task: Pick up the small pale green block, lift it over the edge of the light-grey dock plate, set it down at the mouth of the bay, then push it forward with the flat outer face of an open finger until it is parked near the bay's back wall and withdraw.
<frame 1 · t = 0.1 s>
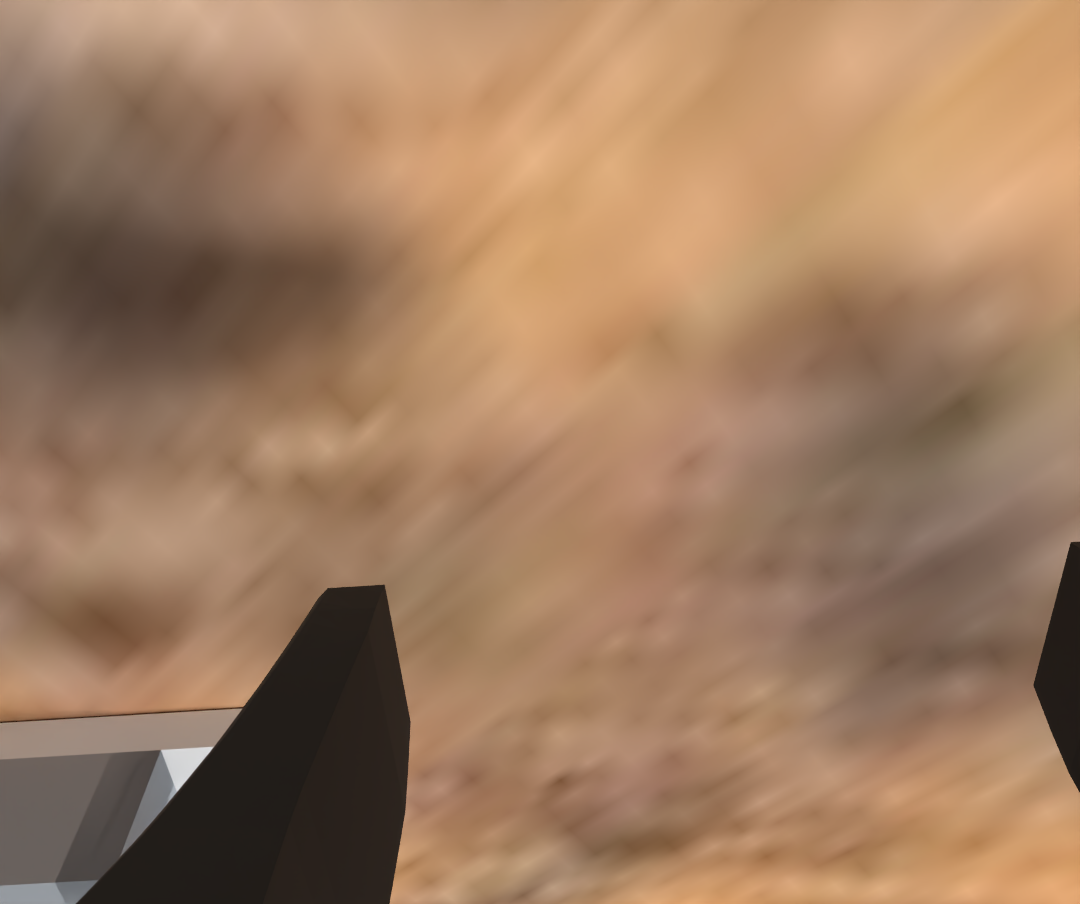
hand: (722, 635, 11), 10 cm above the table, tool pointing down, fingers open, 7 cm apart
dock: (71, 850, 28), on the table
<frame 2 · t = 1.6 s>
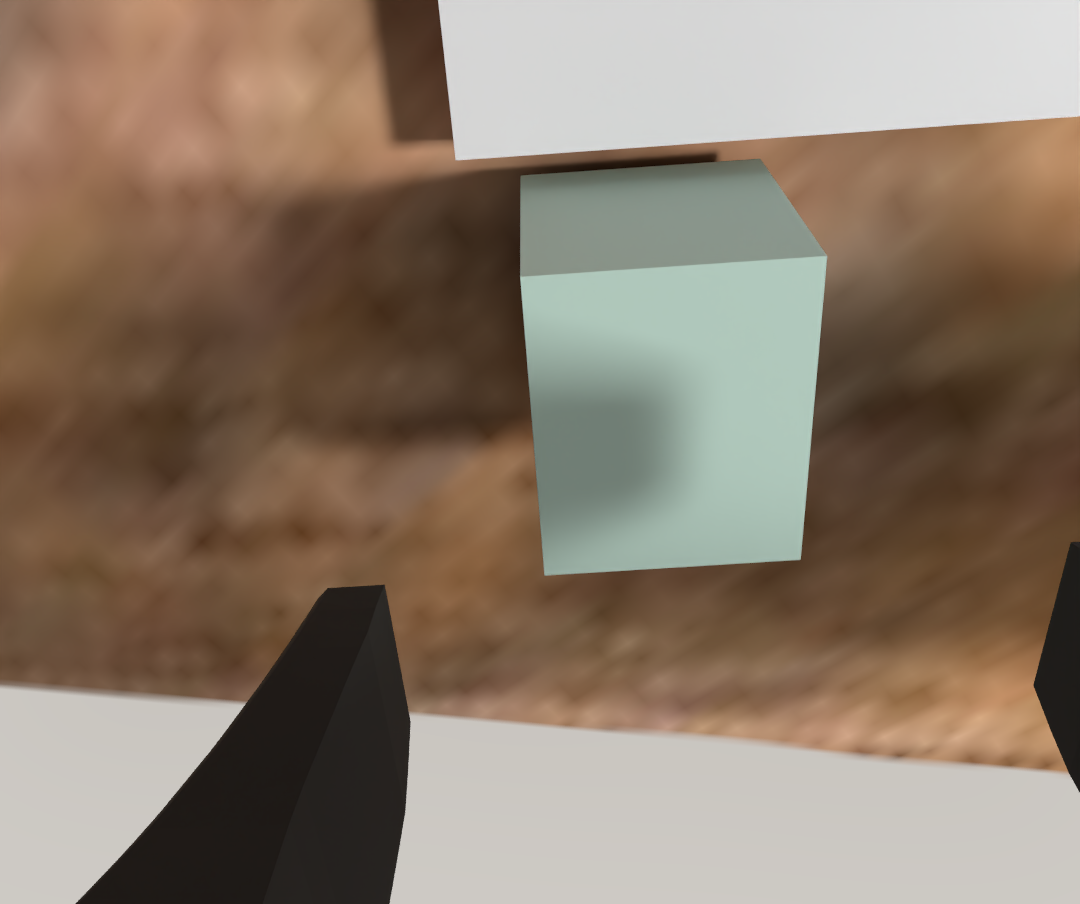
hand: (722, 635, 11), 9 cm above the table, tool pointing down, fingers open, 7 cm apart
pale green block: (638, 292, 19), on the table
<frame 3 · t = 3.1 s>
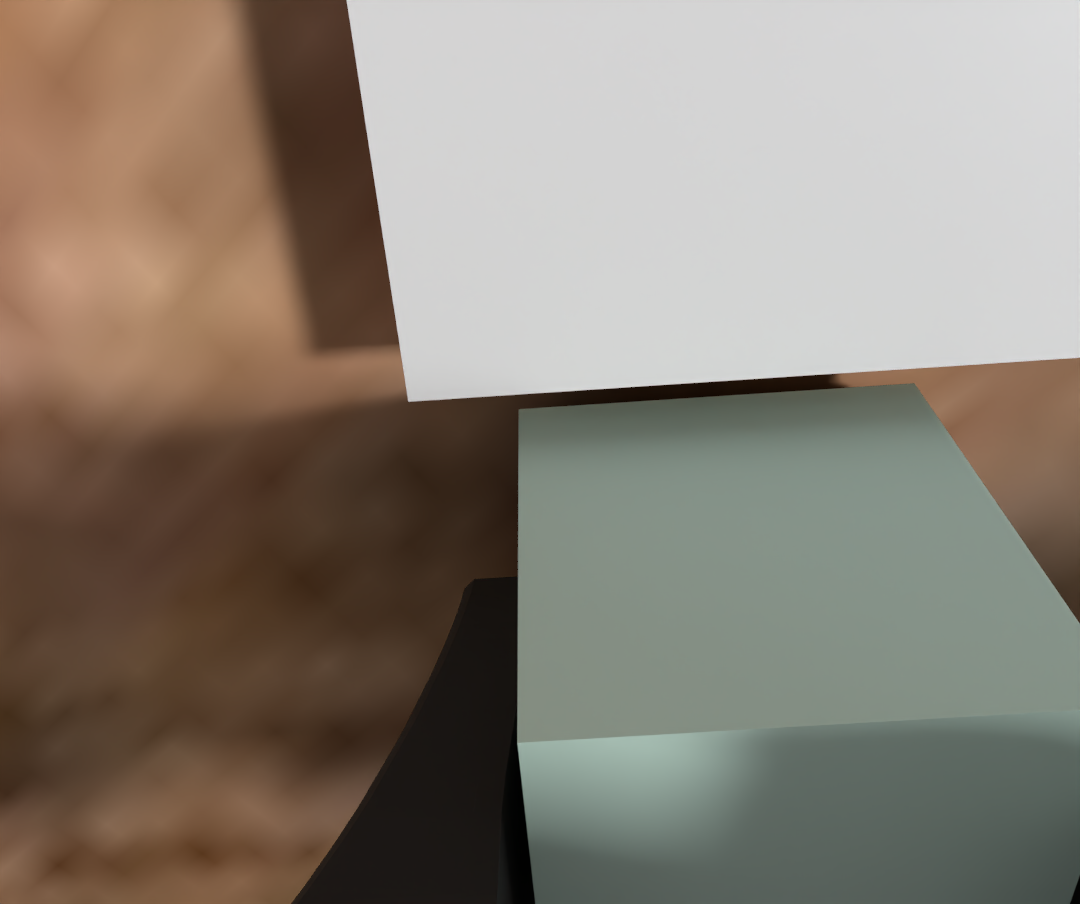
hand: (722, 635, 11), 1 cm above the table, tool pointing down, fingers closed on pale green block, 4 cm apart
pale green block: (702, 555, 12), on the table, touching gripper
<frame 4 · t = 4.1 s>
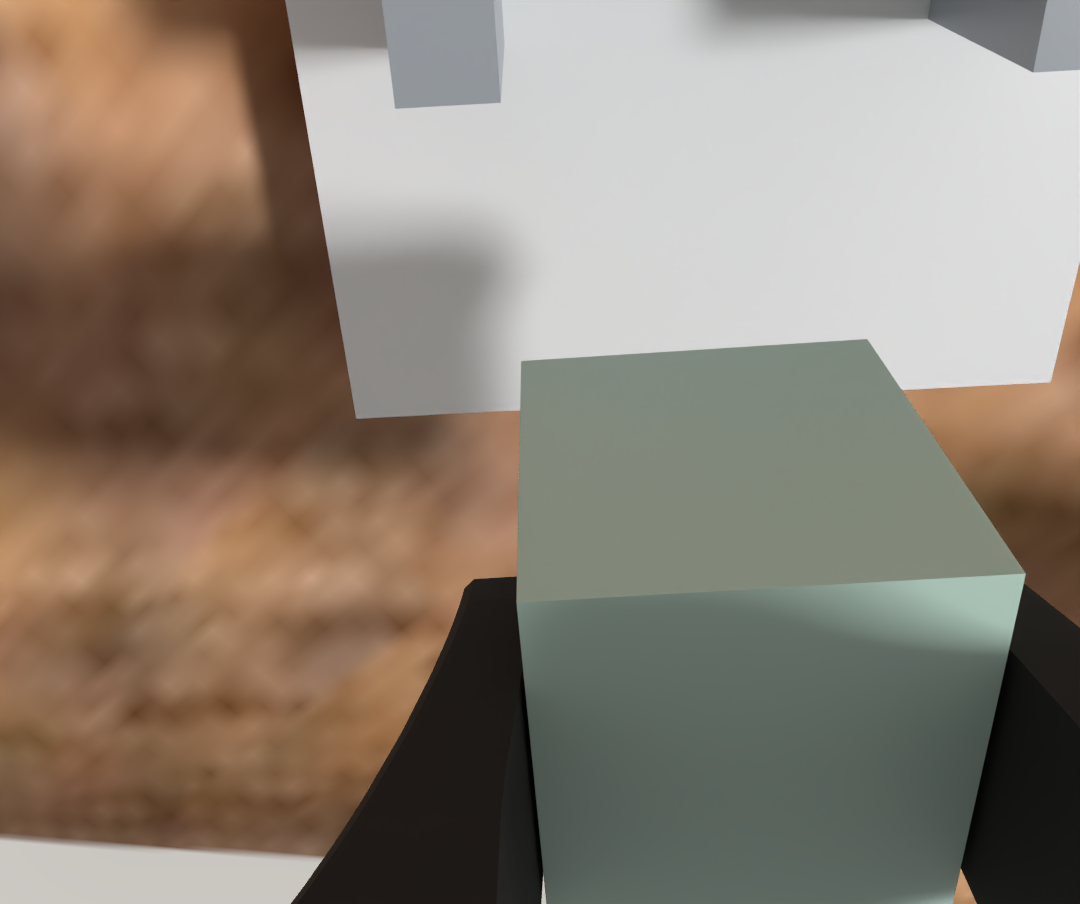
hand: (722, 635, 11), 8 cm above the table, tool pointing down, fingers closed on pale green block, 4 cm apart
dock: (700, 85, 16), on the table
pale green block: (685, 501, 14), point 5 cm above the table, touching gripper
when the fingers open (3 cm above the table, at t = 5.6 s): pale green block stays where it is, resting on dock.
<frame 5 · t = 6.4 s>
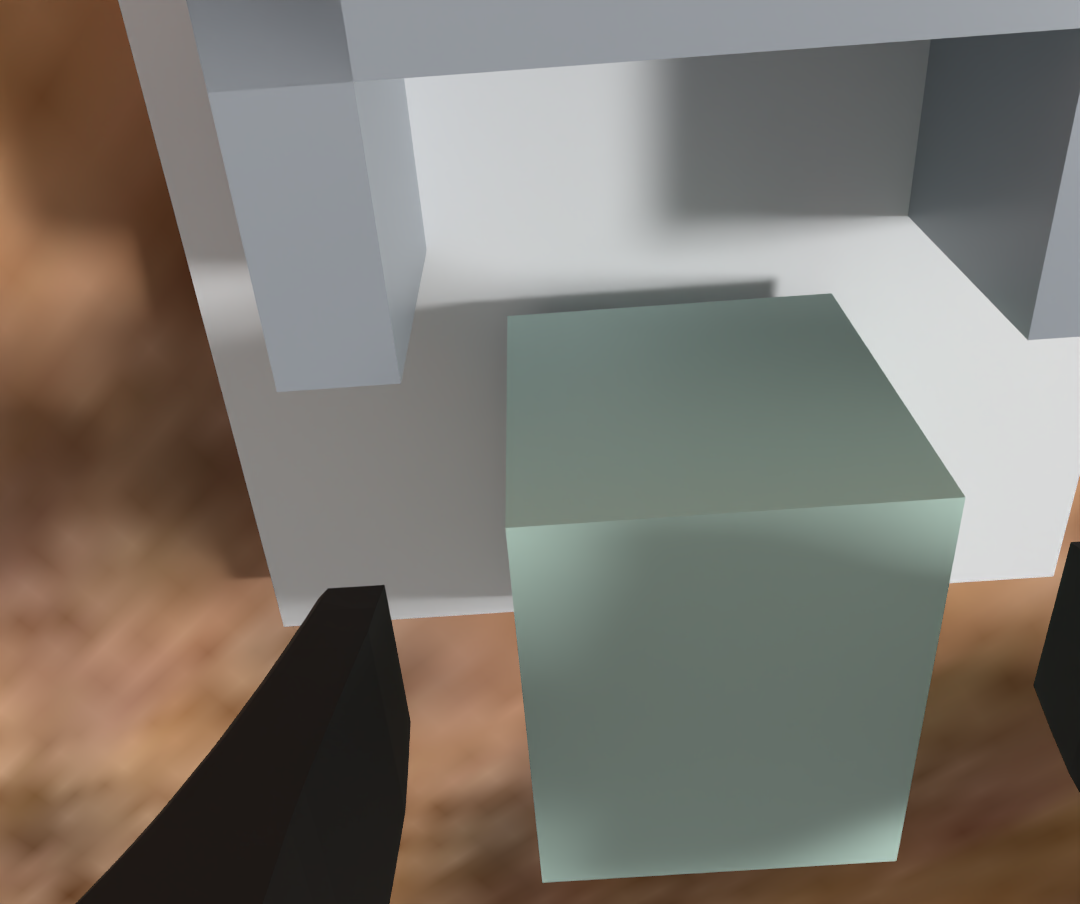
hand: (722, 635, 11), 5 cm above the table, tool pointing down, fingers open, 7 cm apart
dock: (655, 271, 14), on the table
pale green block: (663, 450, 14), point 1 cm above the table, touching dock
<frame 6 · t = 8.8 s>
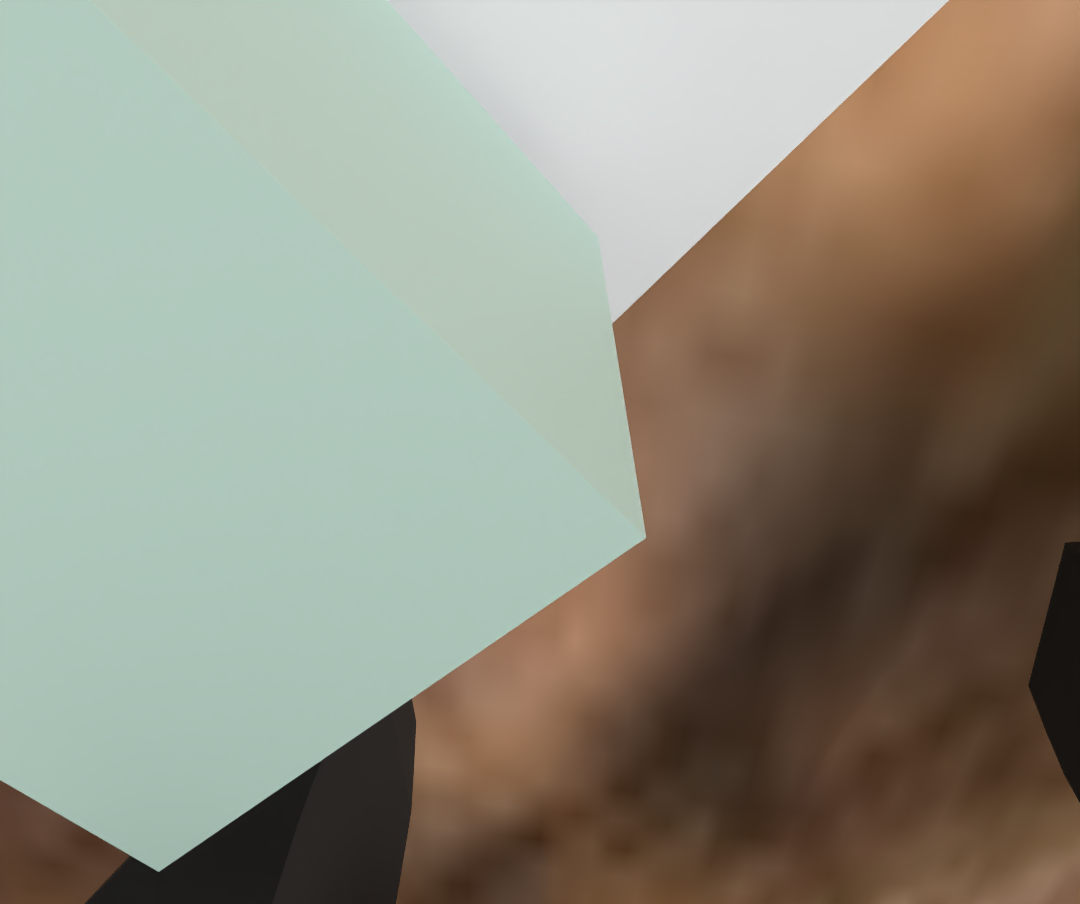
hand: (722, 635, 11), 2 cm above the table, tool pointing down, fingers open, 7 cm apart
dock: (127, 50, 10), on the table
pale green block: (243, 155, 9), point 1 cm above the table, touching dock, gripper
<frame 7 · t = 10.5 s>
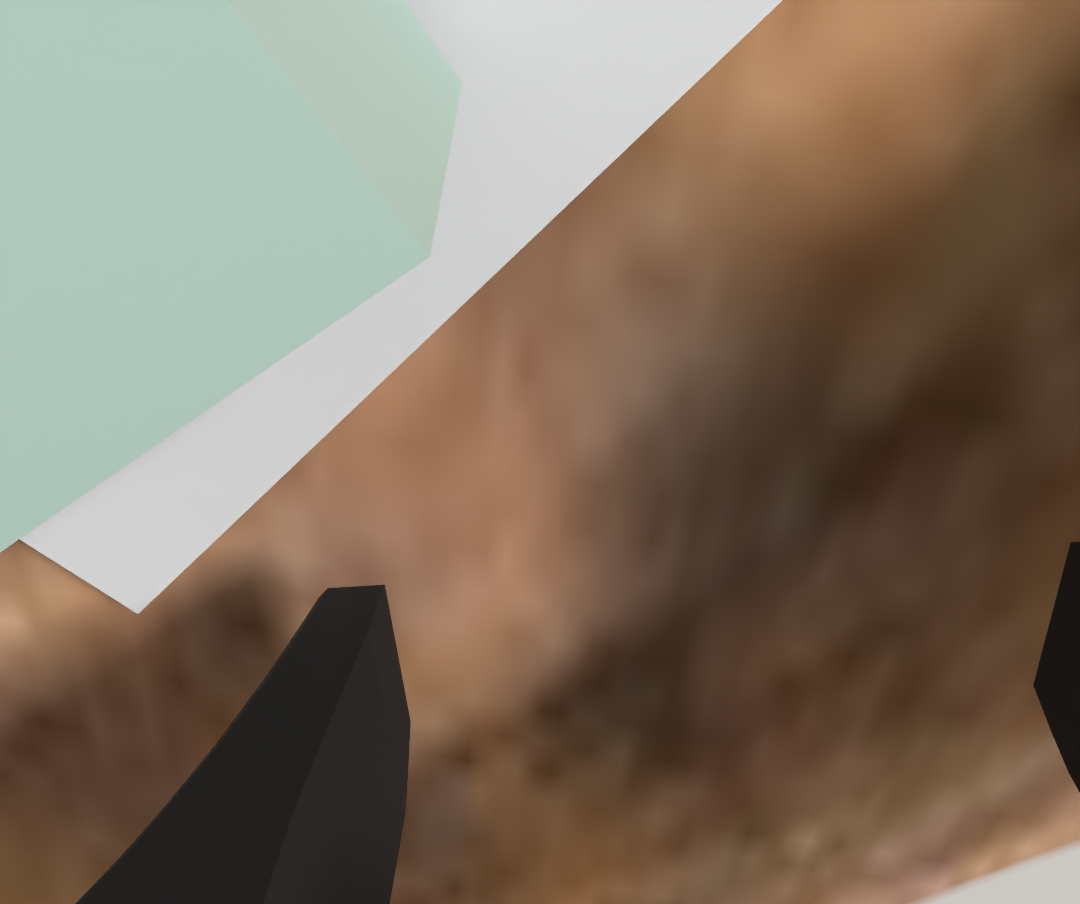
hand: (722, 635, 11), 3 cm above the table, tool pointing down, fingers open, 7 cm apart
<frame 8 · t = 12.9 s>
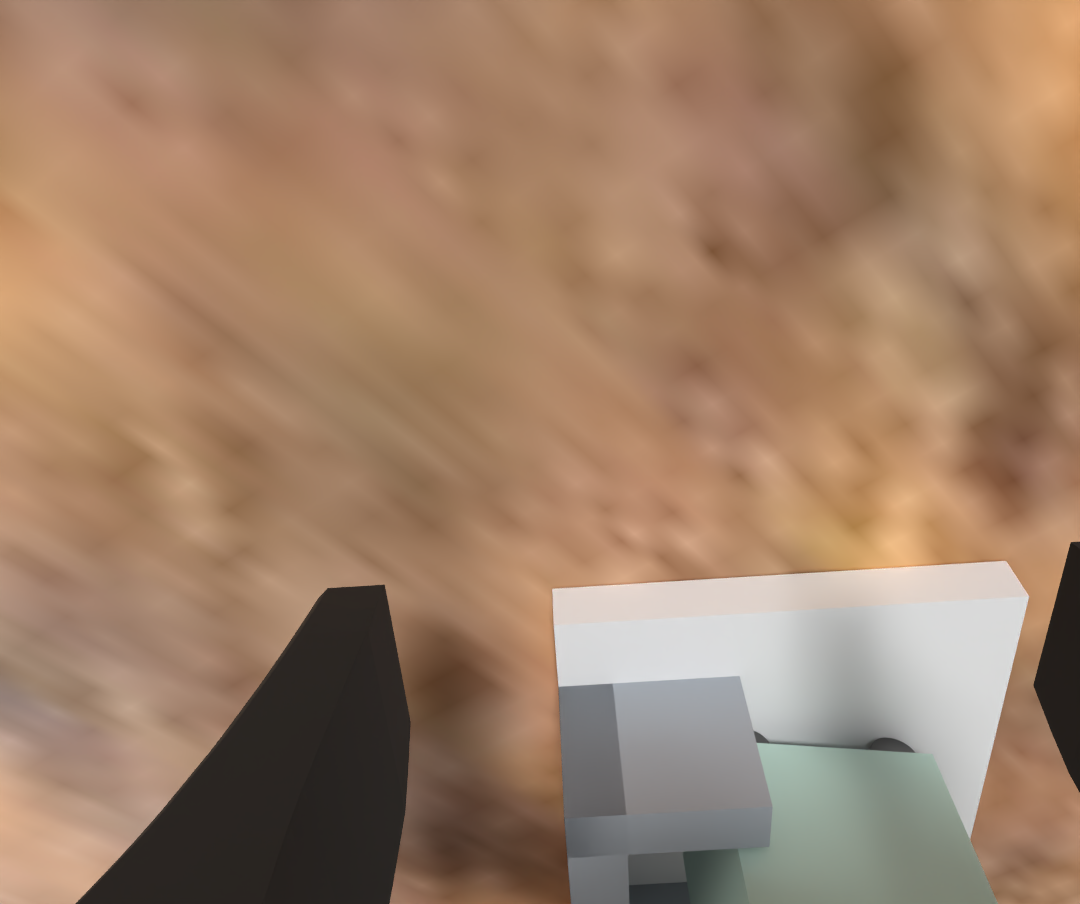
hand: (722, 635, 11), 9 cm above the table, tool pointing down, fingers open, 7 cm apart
dock: (764, 761, 26), on the table
pale green block: (797, 785, 25), point 1 cm above the table, touching dock
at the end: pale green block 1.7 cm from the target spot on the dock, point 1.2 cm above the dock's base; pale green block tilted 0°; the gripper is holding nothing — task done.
